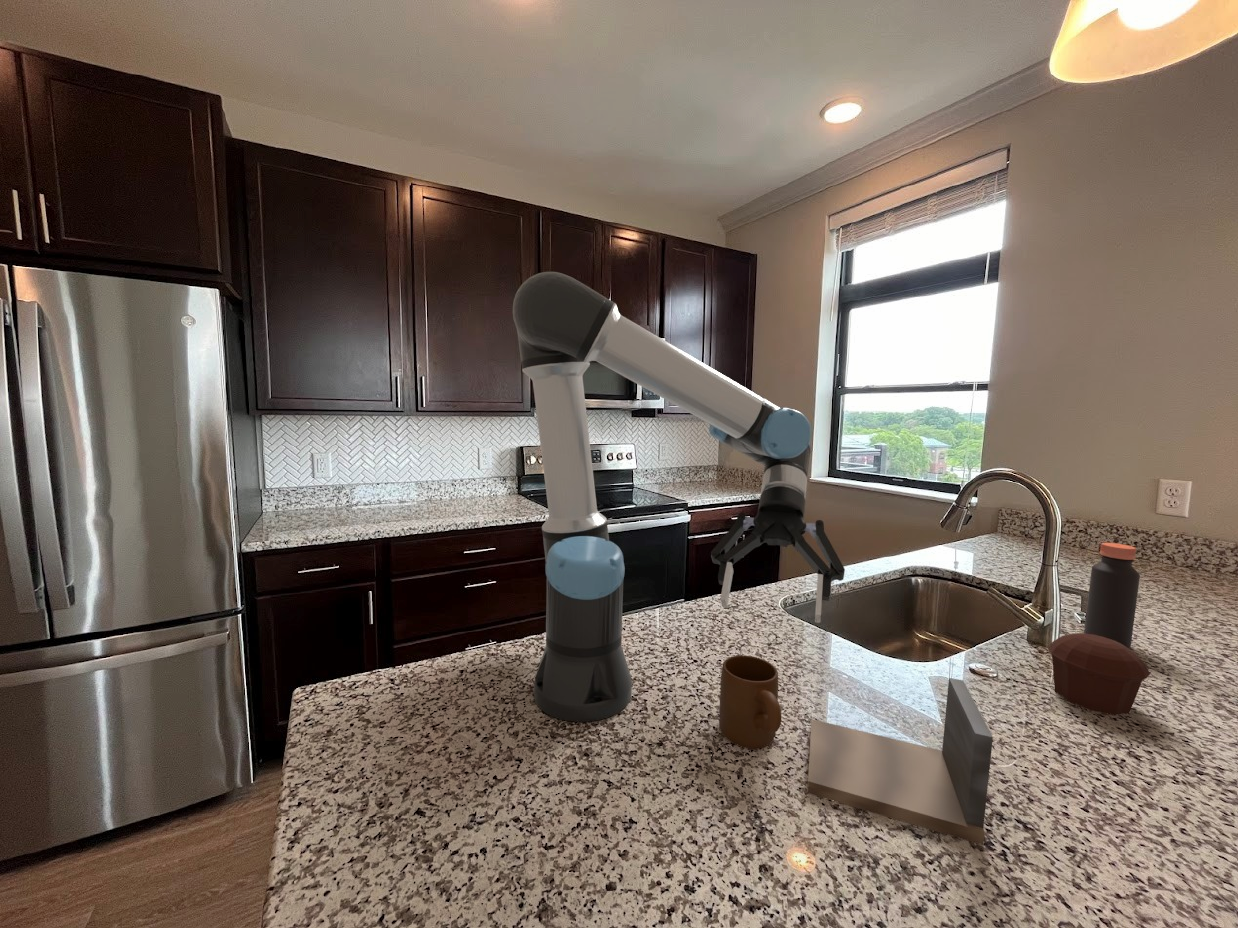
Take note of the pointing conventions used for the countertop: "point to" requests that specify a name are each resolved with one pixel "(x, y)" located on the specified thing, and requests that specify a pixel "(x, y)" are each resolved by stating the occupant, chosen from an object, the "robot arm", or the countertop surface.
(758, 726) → the mug
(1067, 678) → the muffin
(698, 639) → the countertop surface
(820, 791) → the shelf
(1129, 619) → the bottle
